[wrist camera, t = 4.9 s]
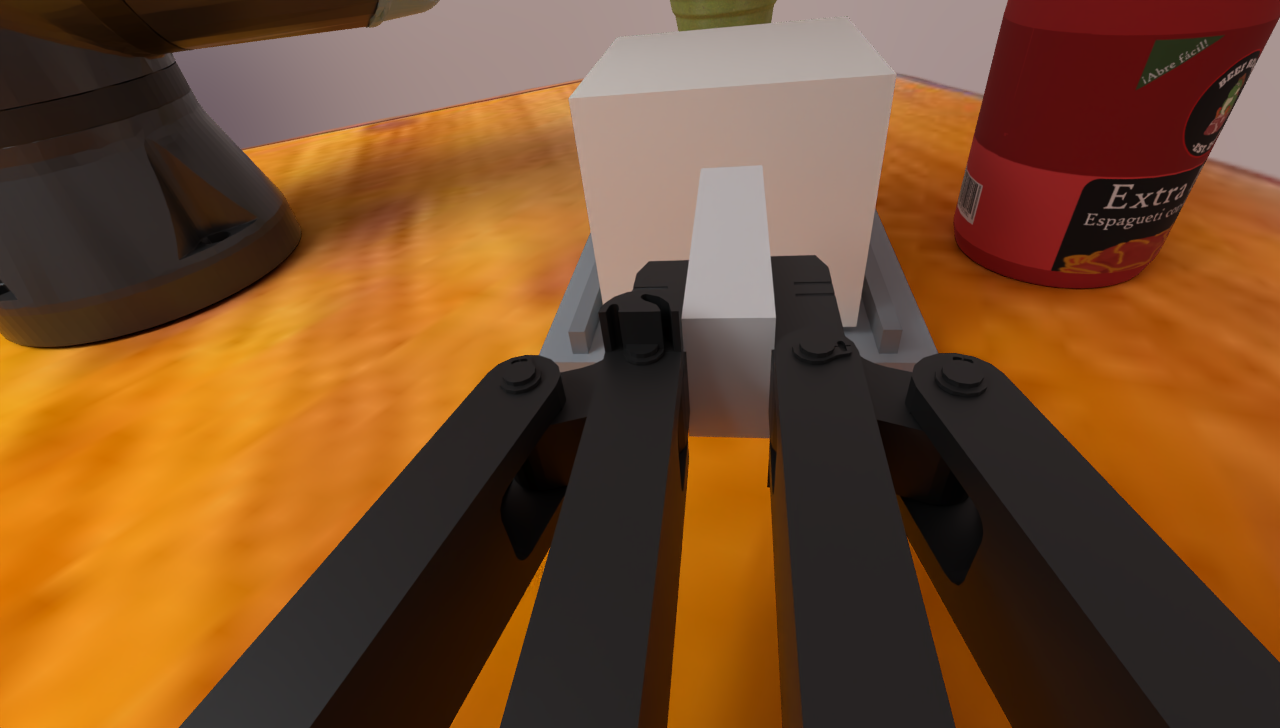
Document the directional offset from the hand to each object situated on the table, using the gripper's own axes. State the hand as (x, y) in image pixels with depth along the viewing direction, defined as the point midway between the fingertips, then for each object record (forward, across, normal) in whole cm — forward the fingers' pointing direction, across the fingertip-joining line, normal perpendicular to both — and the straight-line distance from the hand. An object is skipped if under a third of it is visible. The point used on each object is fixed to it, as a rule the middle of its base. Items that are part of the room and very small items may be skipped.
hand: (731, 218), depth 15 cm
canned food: (+12, +14, -8) cm, 20 cm away
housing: (+8, 0, -6) cm, 10 cm away
